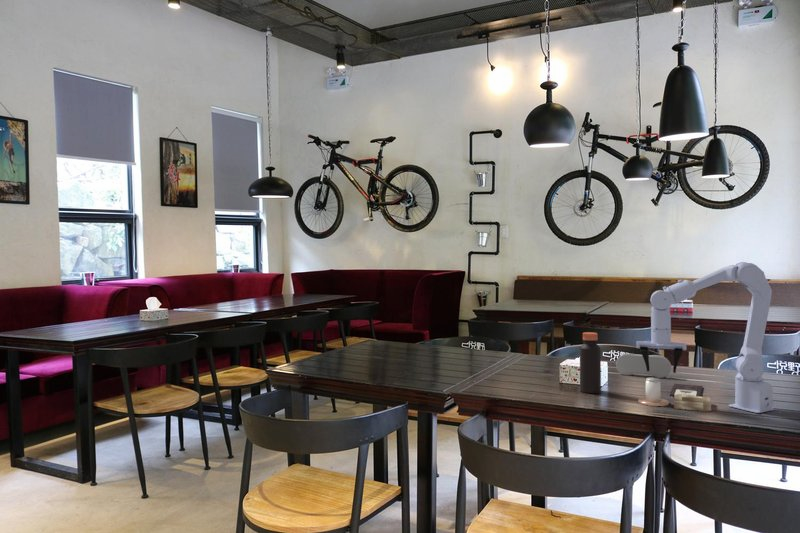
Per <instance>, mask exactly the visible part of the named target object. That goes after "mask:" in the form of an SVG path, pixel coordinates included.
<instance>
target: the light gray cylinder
mask: <svg viewBox="0 0 800 533" xmlns="http://www.w3.org/2000/svg"><path fill="white" fill-rule="evenodd" d="M645 379H646V380H645V398H646V401H647V402H652V403H658V402H661V399H662V397H661V396H662V395H661V393H662V392H661V385H662V383H661V378H657V377H646V378H645Z"/></svg>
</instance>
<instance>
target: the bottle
mask: <svg viewBox="0 0 800 533" xmlns="http://www.w3.org/2000/svg"><path fill="white" fill-rule="evenodd" d="M598 339H599V338H598V333H597V332H592V331H591V332H590V331H587V332H582V342H583V343H582V345H580V346H579V392H582V393H585V394H599V393H600V392H601V391H602V390H601V389H602V388H601V387H602V384H601V382H602V381H601V378H602V377H601V376H602V374H601V373H602V370H601V368H602V367H601V363H602V362H601V361H602V359H601V352H602V351H601V350H602V349H601V347H600V346H599V345H598V343H597V342H598Z"/></svg>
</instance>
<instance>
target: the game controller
mask: <svg viewBox="0 0 800 533" xmlns="http://www.w3.org/2000/svg"><path fill="white" fill-rule="evenodd" d="M615 367H616V370H617V371H618V372H619V373H620V374H621V375H622V376H633V375H634V374H635V375H638V374H639V375H647V376H652V377H653V378H659V379H664V378H666V377H668V375H670V373H671V372H672V371H671V370H672V364H671V362H670V361H669V359H668V358H667V357H665V356H663V355H658V354H651V355H650V354H649V371H647V368H646V364H645V361H644V358H643V356H642V354H639V353H638V354H635V353H627V352H626V353H622V354H621V355H620V356H618V358H617V359H616V362H615Z"/></svg>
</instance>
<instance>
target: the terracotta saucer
mask: <svg viewBox="0 0 800 533" xmlns="http://www.w3.org/2000/svg"><path fill="white" fill-rule="evenodd" d="M637 403H638V404H641V405H643V406H647V405H648V407H657V406H661V407H666V406H669V404H670V401H669V400H667V399H664V398H661V402H658V403H652V402H647V401H646V397H639V398H638V399H637Z"/></svg>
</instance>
